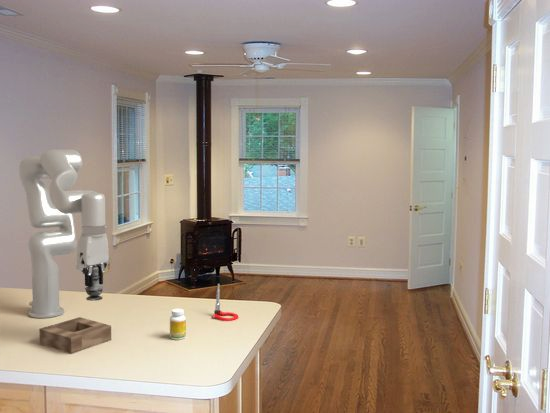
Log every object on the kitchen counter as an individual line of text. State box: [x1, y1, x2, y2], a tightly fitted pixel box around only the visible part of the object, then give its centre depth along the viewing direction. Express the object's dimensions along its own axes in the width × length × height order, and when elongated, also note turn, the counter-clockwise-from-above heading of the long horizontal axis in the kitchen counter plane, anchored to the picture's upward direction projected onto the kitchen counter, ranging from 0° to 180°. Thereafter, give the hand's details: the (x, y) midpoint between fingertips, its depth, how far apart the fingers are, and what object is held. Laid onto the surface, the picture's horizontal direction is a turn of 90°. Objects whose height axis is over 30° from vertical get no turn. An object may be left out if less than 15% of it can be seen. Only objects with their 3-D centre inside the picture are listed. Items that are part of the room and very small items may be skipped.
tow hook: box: [211, 283, 239, 322], centre depth 227 cm, size 8×13×9 cm
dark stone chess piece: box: [84, 265, 104, 302], centre depth 199 cm, size 6×6×12 cm
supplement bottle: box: [169, 308, 187, 341], centre depth 204 cm, size 5×5×10 cm
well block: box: [39, 316, 112, 355], centre depth 198 cm, size 16×16×5 cm
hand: (94, 284), depth 199 cm, fingers closed on dark stone chess piece, 3 cm apart
